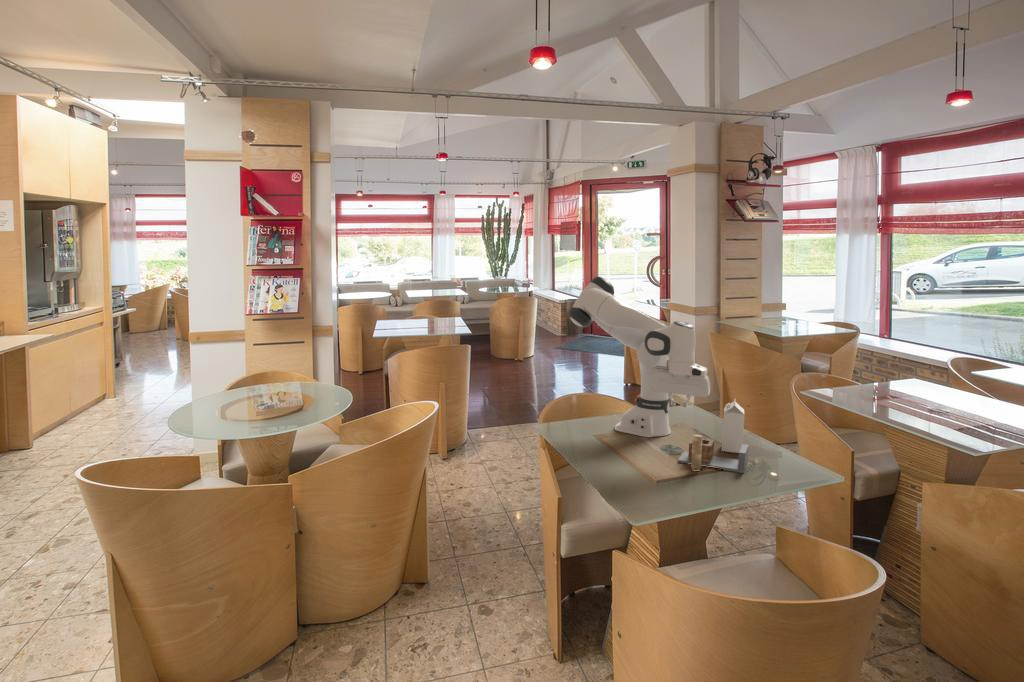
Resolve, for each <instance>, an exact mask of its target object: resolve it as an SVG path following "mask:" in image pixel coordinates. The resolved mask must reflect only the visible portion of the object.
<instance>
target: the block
mask: <svg viewBox="0 0 1024 682" xmlns="http://www.w3.org/2000/svg"><path fill="white" fill-rule="evenodd" d="M692 440H693V437H692V438H691V440H690V441H689V443H688V452H689V455H688V459H689V460H691V459H692ZM715 441H716V440H715V439H709V438H707V439H706V438H703V439H702V456H701V462H708V463H710V462H711V460H712V458H713V457H714V455H715V454H714V453H715Z"/></svg>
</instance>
